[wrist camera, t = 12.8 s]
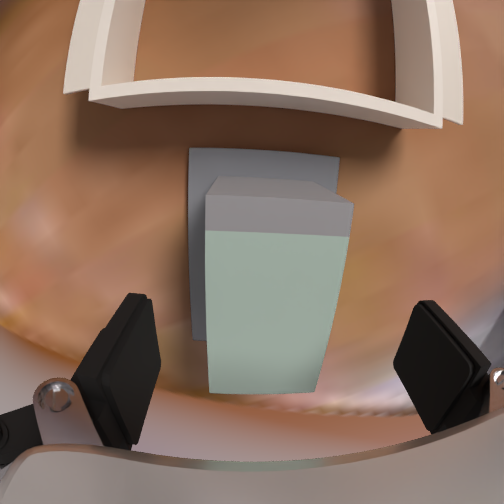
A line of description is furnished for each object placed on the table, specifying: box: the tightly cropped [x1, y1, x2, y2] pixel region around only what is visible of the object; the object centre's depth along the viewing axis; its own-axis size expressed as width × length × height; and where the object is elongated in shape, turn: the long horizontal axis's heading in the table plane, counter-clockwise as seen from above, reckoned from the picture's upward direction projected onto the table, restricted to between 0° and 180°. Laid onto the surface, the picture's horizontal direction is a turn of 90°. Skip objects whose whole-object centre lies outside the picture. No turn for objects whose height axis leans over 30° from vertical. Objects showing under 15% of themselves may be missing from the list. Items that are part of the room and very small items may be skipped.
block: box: [205, 176, 354, 394], centre depth 14 cm, size 5×9×6 cm, turn 177°
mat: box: [188, 148, 340, 341], centre depth 17 cm, size 8×12×1 cm, turn 177°
